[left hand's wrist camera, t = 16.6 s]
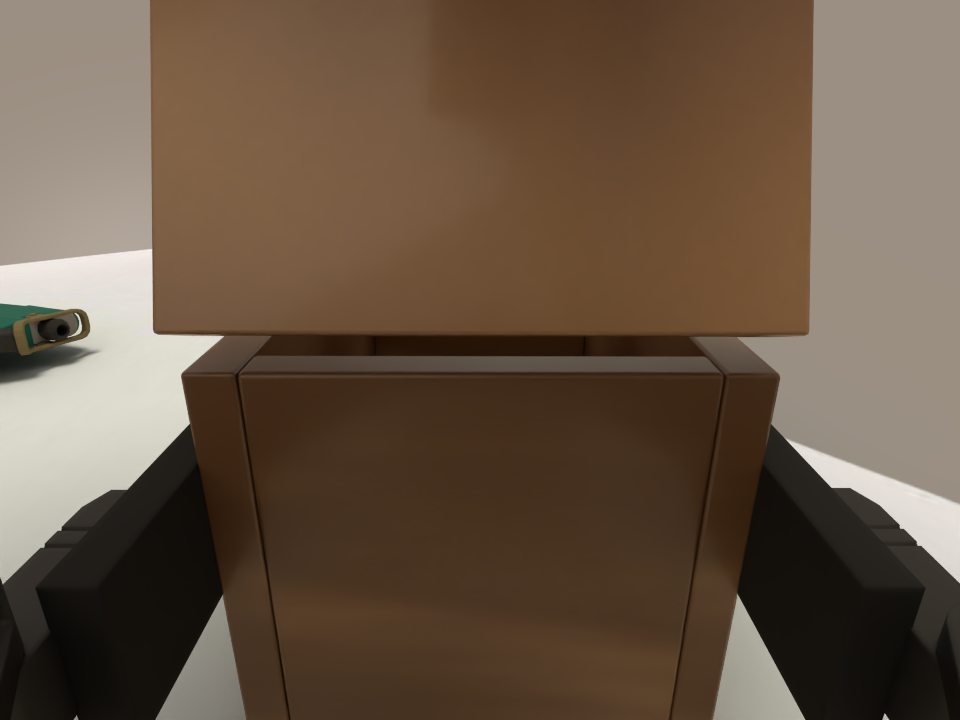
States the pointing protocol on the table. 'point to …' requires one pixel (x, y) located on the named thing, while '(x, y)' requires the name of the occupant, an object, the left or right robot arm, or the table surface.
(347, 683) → the chest
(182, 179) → the lid
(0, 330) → the spray gun
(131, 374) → the table surface
